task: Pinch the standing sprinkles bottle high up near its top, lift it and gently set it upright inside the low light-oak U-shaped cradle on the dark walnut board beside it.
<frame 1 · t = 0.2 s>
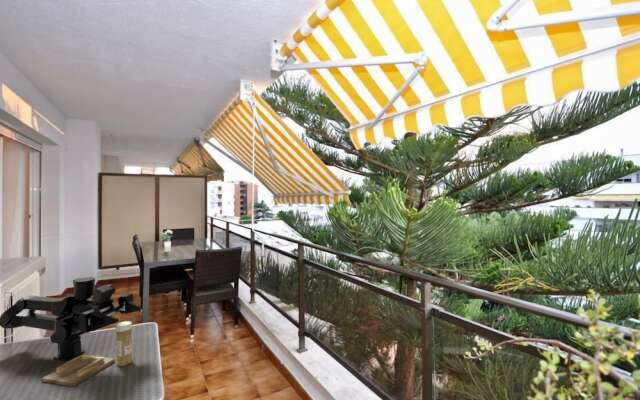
hand: (129, 314, 103), 17 cm above the table, tool horizontal, fingers open, 9 cm apart
bottle cradle: (80, 370, 100), on the table
sprinkles bottle: (124, 363, 104), on the table
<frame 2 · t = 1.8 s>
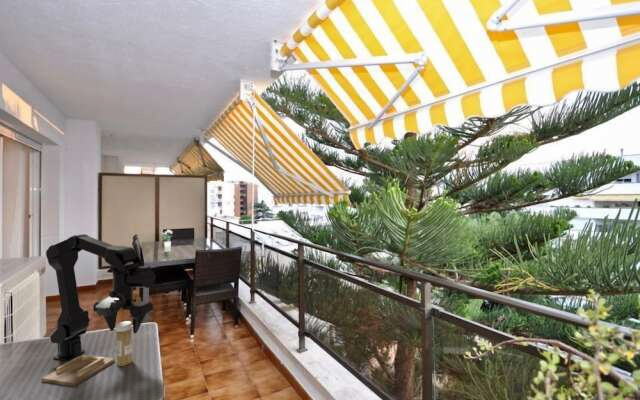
hand: (123, 331, 104), 11 cm above the table, tool pointing down, fingers open, 9 cm apart
nothing on the table moved.
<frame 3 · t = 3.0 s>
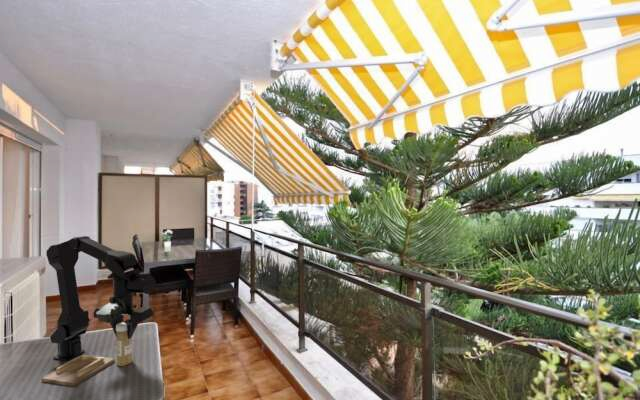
hand: (124, 337, 104), 9 cm above the table, tool pointing down, fingers closed on sprinkles bottle, 4 cm apart
sprinkles bottle: (124, 363, 104), on the table, touching gripper
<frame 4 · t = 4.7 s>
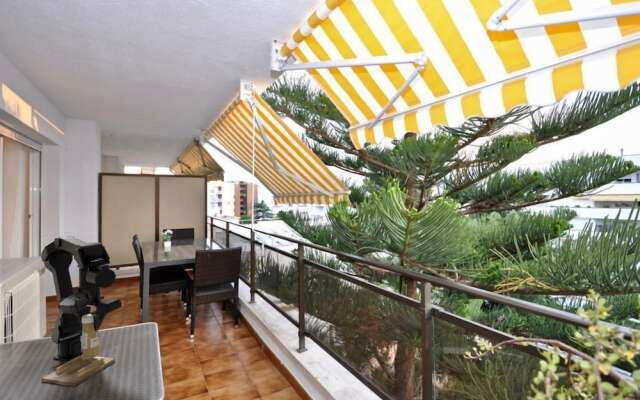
hand: (90, 329, 101), 13 cm above the table, tool pointing down, fingers closed on sprinkles bottle, 4 cm apart
sprinkles bottle: (90, 356, 101), point 4 cm above the table, touching gripper
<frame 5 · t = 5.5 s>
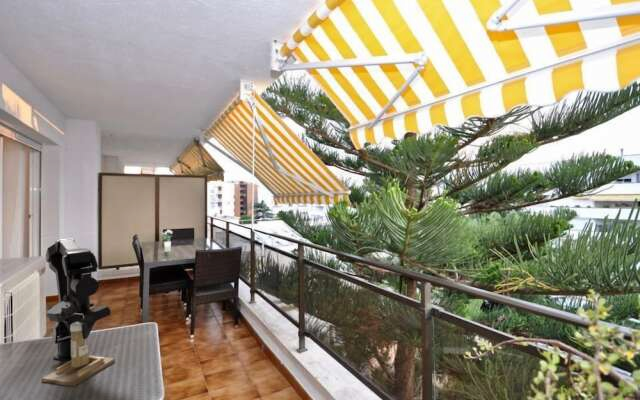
hand: (79, 337, 99), 11 cm above the table, tool pointing down, fingers closed on sprinkles bottle, 4 cm apart
sprinkles bottle: (79, 364, 100), point 2 cm above the table, touching gripper
when the fingers open (10 cm above the table, at t = 6.3 s): sprinkles bottle stays where it is, resting on bottle cradle.
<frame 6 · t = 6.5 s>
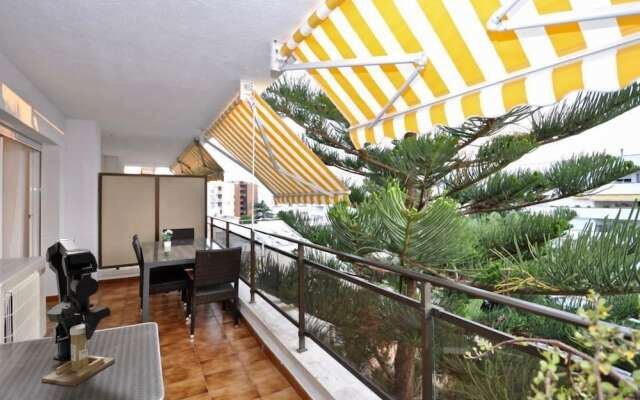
hand: (79, 338, 99), 10 cm above the table, tool pointing down, fingers open, 7 cm apart
sprinkles bottle: (80, 368, 100), point 1 cm above the table, touching bottle cradle
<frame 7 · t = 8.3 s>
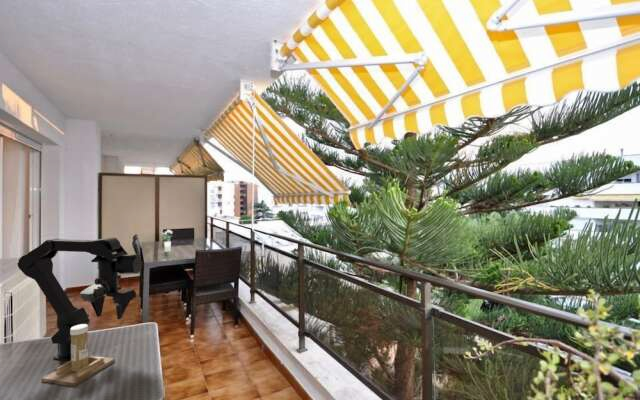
hand: (109, 317, 110), 13 cm above the table, tool pointing down, fingers open, 9 cm apart
nothing on the table moved.
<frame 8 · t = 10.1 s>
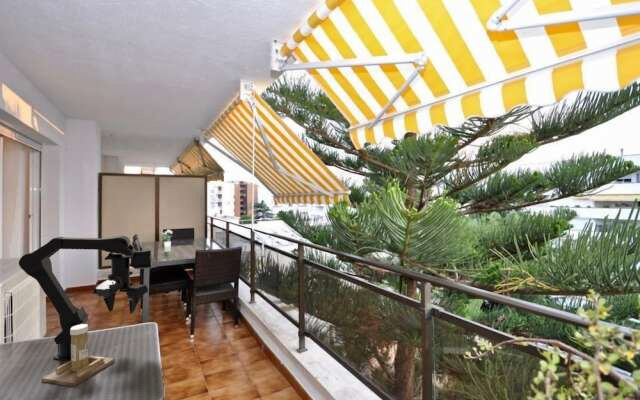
hand: (121, 312, 115), 13 cm above the table, tool pointing down, fingers open, 9 cm apart
nothing on the table moved.
at the end: sprinkles bottle 0.0 cm off-centre on the bottle cradle, point 0.8 cm above the bottle cradle's base; sprinkles bottle tilted 0°; the gripper is holding nothing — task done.
